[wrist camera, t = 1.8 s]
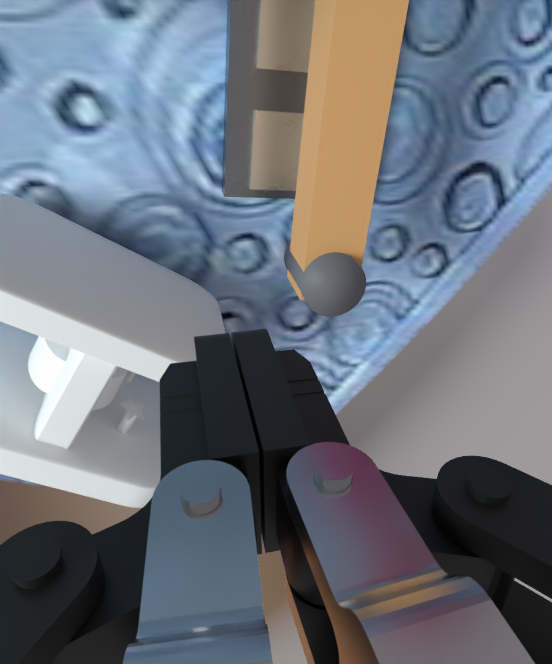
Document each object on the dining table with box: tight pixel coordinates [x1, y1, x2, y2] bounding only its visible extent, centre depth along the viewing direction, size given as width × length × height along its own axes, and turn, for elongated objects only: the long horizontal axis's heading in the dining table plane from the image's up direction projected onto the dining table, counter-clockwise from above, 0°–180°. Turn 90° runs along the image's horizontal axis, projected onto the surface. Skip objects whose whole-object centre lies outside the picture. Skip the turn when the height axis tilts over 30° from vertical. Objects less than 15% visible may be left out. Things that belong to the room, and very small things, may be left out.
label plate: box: [222, 0, 315, 199], centre depth 29 cm, size 12×9×2 cm
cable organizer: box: [0, 193, 225, 508], centre depth 29 cm, size 15×11×12 cm
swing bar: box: [284, 0, 409, 316], centre depth 24 cm, size 16×3×4 cm, turn 175°
